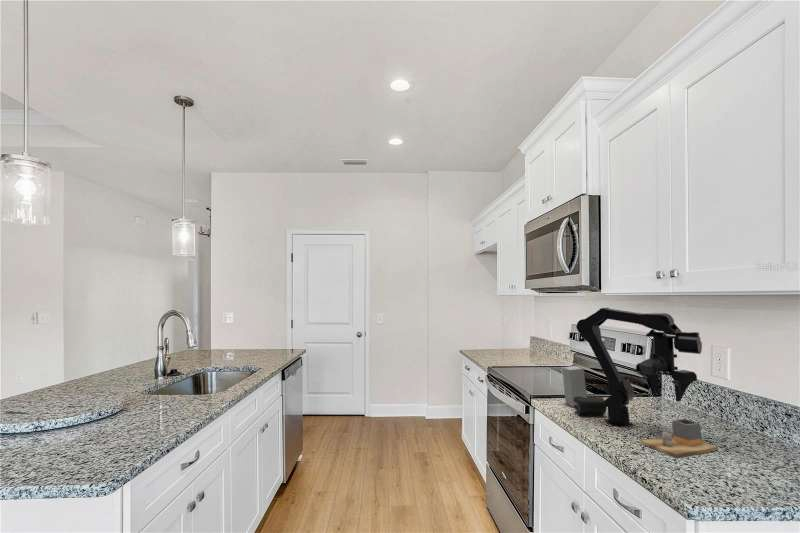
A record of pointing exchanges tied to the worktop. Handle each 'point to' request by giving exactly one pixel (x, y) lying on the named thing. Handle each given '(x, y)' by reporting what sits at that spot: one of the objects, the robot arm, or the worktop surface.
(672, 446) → the pin board
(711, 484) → the worktop surface
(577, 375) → the skincare box
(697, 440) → the sleeve
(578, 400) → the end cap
